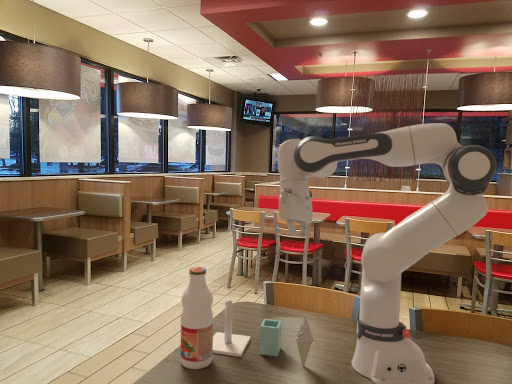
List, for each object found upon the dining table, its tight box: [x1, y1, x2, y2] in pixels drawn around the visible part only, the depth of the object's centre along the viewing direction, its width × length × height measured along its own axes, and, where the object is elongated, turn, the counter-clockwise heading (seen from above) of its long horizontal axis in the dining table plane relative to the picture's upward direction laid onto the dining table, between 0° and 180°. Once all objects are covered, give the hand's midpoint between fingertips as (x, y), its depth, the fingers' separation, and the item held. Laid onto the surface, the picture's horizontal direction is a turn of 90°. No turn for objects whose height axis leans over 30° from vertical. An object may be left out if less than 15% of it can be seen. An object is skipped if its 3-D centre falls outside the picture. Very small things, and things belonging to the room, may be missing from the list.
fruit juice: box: [180, 266, 214, 370], centre depth 111 cm, size 9×9×28 cm
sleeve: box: [259, 318, 282, 357], centre depth 119 cm, size 6×6×9 cm
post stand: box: [213, 299, 251, 358], centre depth 121 cm, size 12×12×15 cm
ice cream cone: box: [295, 316, 314, 367], centre depth 110 cm, size 5×5×15 cm
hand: (298, 236), depth 113 cm, fingers open, 8 cm apart
